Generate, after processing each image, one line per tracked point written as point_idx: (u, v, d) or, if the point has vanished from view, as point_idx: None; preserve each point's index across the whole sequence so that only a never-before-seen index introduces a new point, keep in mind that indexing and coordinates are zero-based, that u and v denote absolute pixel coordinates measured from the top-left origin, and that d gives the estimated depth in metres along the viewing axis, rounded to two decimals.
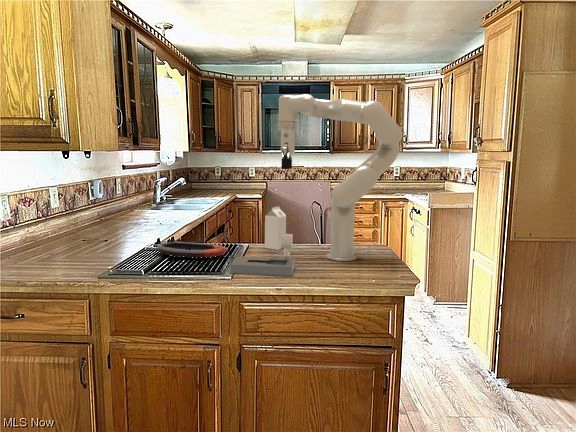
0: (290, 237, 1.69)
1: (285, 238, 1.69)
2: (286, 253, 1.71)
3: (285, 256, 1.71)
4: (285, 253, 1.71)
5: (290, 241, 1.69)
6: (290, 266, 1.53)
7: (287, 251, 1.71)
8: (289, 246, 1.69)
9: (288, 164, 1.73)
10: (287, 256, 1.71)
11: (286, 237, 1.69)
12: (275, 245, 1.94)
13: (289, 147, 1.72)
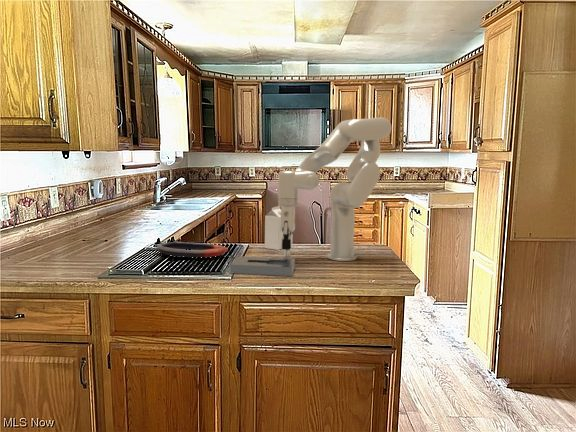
0: (290, 237, 1.69)
1: None
2: (286, 253, 1.71)
3: (285, 256, 1.71)
4: (284, 253, 1.71)
5: None
6: (290, 266, 1.53)
7: (287, 251, 1.71)
8: None
9: (289, 244, 1.69)
10: (287, 256, 1.71)
11: None
12: (275, 245, 1.94)
13: (289, 225, 1.65)
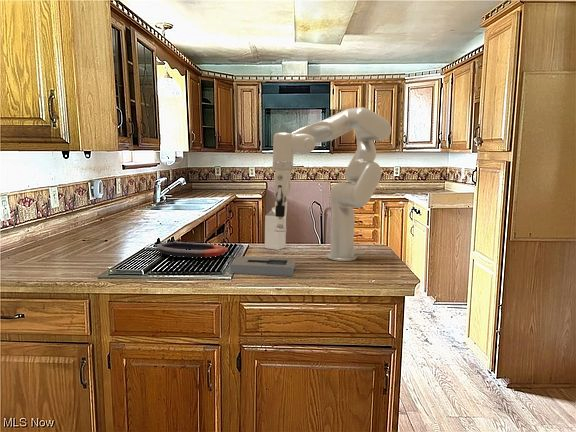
0: (284, 204, 1.59)
1: None
2: (279, 221, 1.60)
3: (278, 224, 1.61)
4: (278, 221, 1.61)
5: None
6: (290, 266, 1.53)
7: (280, 219, 1.60)
8: None
9: (283, 212, 1.58)
10: (281, 224, 1.61)
11: None
12: (275, 245, 1.94)
13: (283, 190, 1.55)
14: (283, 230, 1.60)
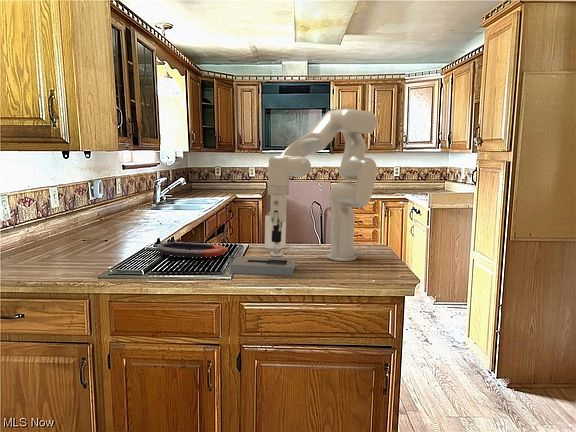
0: (280, 228, 1.54)
1: None
2: (275, 246, 1.56)
3: (275, 249, 1.56)
4: (274, 246, 1.56)
5: None
6: (290, 266, 1.53)
7: (277, 244, 1.56)
8: None
9: (279, 237, 1.54)
10: (277, 250, 1.56)
11: None
12: None
13: (280, 216, 1.51)
14: (280, 255, 1.56)
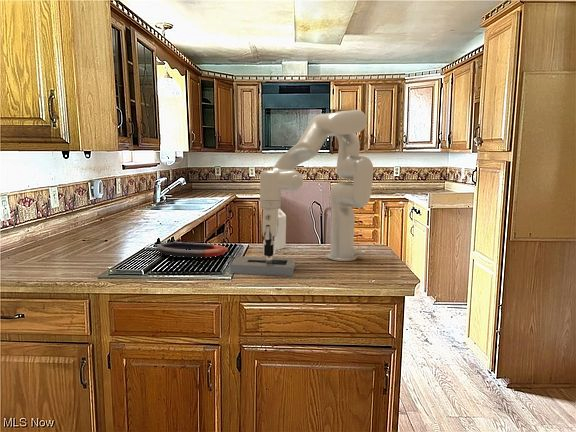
0: None
1: None
2: (268, 260, 1.57)
3: (267, 263, 1.58)
4: (267, 259, 1.57)
5: None
6: (290, 266, 1.53)
7: (269, 257, 1.57)
8: None
9: (271, 251, 1.55)
10: (270, 263, 1.58)
11: None
12: None
13: (272, 230, 1.52)
14: None
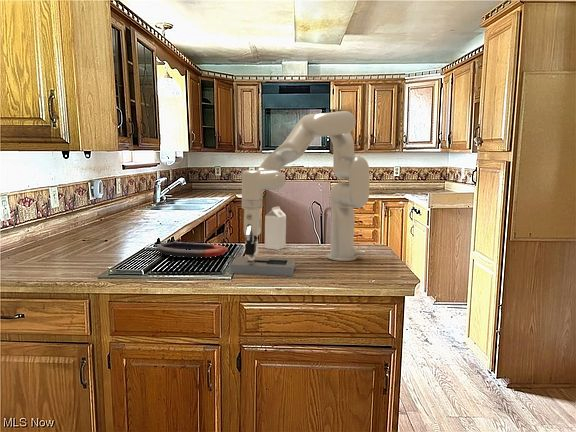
0: (254, 243, 1.56)
1: None
2: (250, 260, 1.58)
3: None
4: (249, 260, 1.58)
5: (254, 247, 1.56)
6: (290, 266, 1.53)
7: (251, 258, 1.58)
8: None
9: (252, 249, 1.54)
10: None
11: None
12: (275, 245, 1.94)
13: (253, 229, 1.52)
14: None
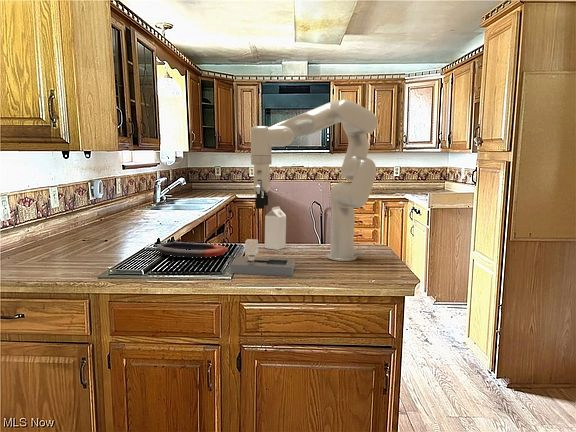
0: (254, 243, 1.56)
1: (249, 244, 1.56)
2: (250, 260, 1.58)
3: None
4: (249, 260, 1.58)
5: (254, 247, 1.56)
6: (290, 266, 1.53)
7: (251, 258, 1.58)
8: (253, 253, 1.57)
9: (263, 203, 1.55)
10: None
11: (250, 243, 1.56)
12: (275, 245, 1.94)
13: (263, 184, 1.54)
14: None
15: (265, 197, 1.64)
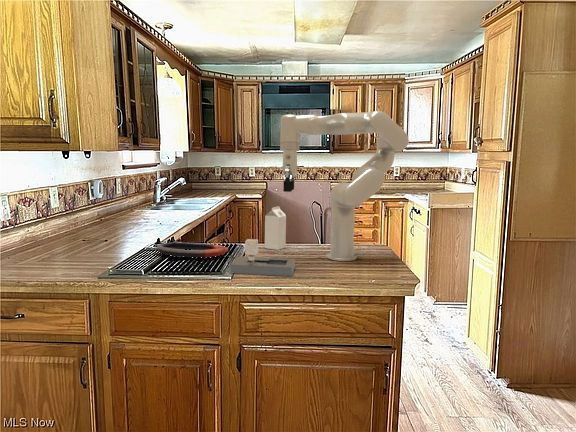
0: (254, 243, 1.56)
1: (249, 244, 1.57)
2: (250, 260, 1.58)
3: None
4: (249, 260, 1.58)
5: (254, 247, 1.56)
6: (290, 266, 1.53)
7: (251, 258, 1.58)
8: (253, 252, 1.57)
9: (290, 187, 1.66)
10: None
11: (250, 243, 1.56)
12: (275, 245, 1.94)
13: (291, 169, 1.65)
14: None
15: (291, 182, 1.75)
